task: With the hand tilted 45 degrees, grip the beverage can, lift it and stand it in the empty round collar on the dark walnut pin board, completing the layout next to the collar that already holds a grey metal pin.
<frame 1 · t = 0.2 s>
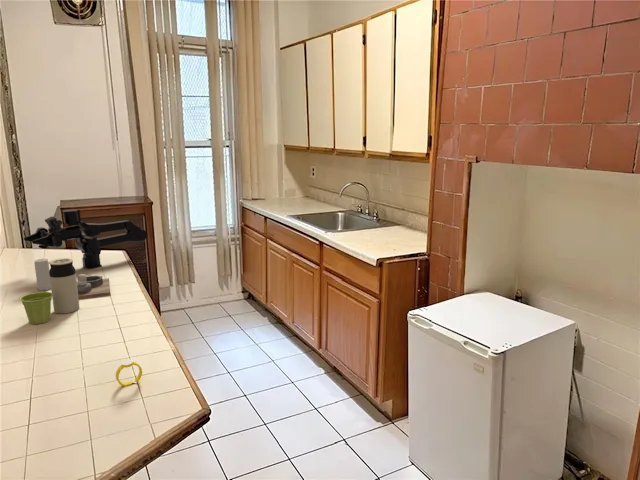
hand: (28, 240, 200), 17 cm above the countertop, tool horizontal, fingers open, 9 cm apart
travel mug: (67, 310, 167), on the countertop
beverage can: (44, 289, 189), on the countertop
plant pot: (39, 321, 157), on the countertop
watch: (130, 384, 118), on the countertop
pin board: (88, 290, 188), on the countertop
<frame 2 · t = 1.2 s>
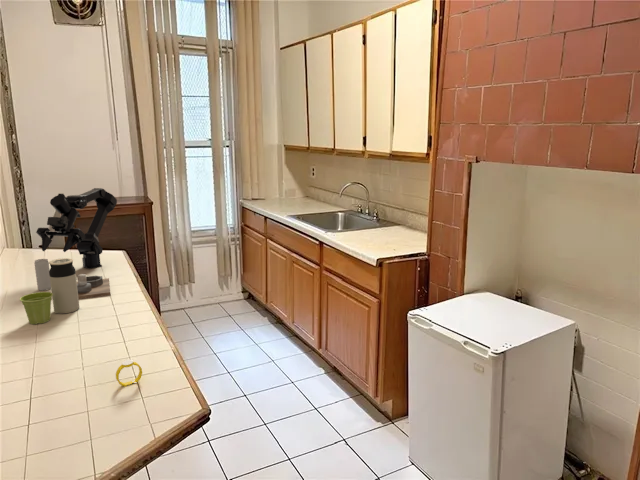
hand: (53, 251, 194), 14 cm above the countertop, tool tilted 45°, fingers open, 9 cm apart
nothing on the countertop moved.
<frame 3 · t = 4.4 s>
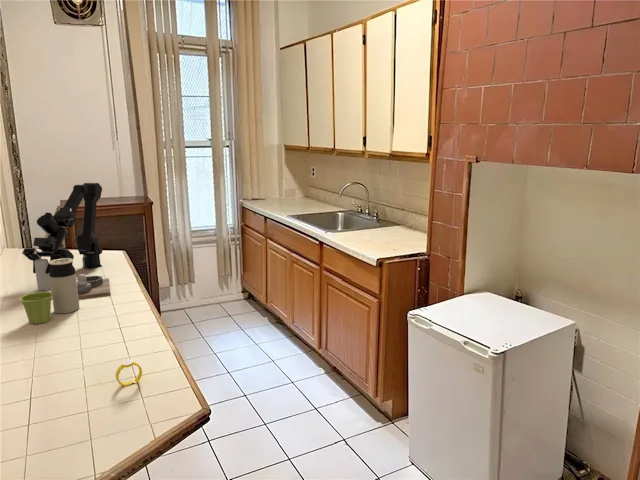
hand: (40, 273, 187), 7 cm above the countertop, tool tilted 45°, fingers closed on beverage can, 5 cm apart
beverage can: (44, 289, 189), on the countertop, touching gripper
everything else where it was.
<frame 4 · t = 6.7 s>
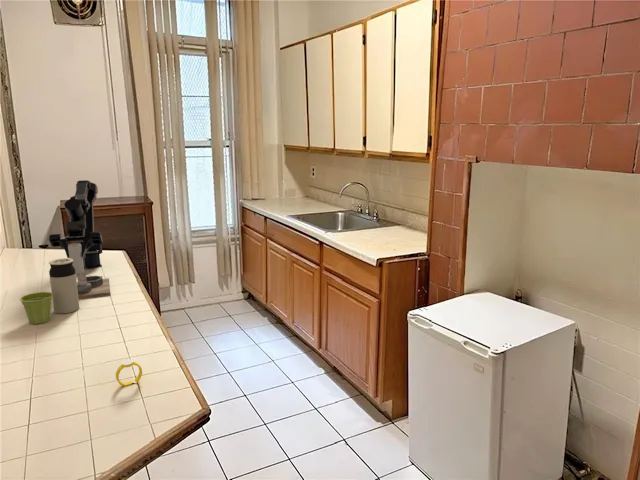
hand: (75, 257, 187), 13 cm above the countertop, tool tilted 45°, fingers closed on beverage can, 5 cm apart
beverage can: (77, 274, 190), point 6 cm above the countertop, touching gripper
everything else where it was.
when the fingers open (9 cm above the countertop, at t = 8.9 s): beverage can stays where it is, resting on pin board.
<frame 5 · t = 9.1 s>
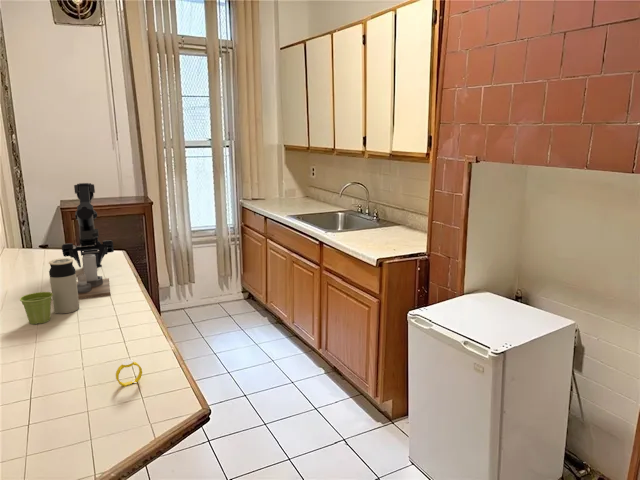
hand: (89, 265, 189), 9 cm above the countertop, tool tilted 45°, fingers open, 7 cm apart
beverage can: (91, 284, 192), point 1 cm above the countertop, touching pin board
everything else where it was.
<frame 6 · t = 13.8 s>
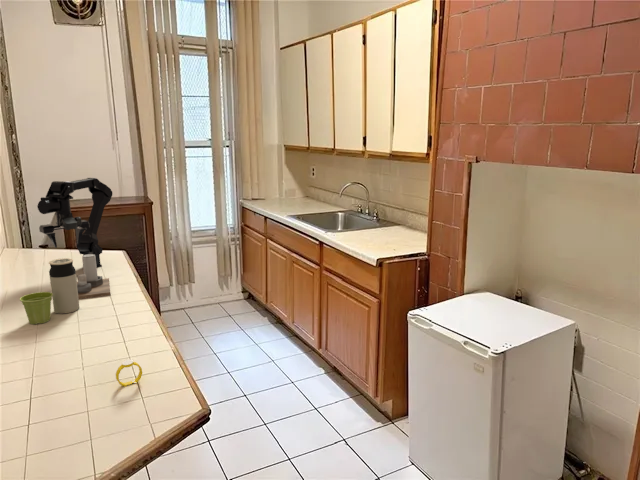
hand: (67, 245, 207), 13 cm above the countertop, tool pointing down, fingers open, 9 cm apart
nothing on the countertop moved.
at the end: beverage can 0.2 cm from the target spot, point 1.0 cm above the countertop; beverage can tilted 0°; the gripper is holding nothing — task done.
